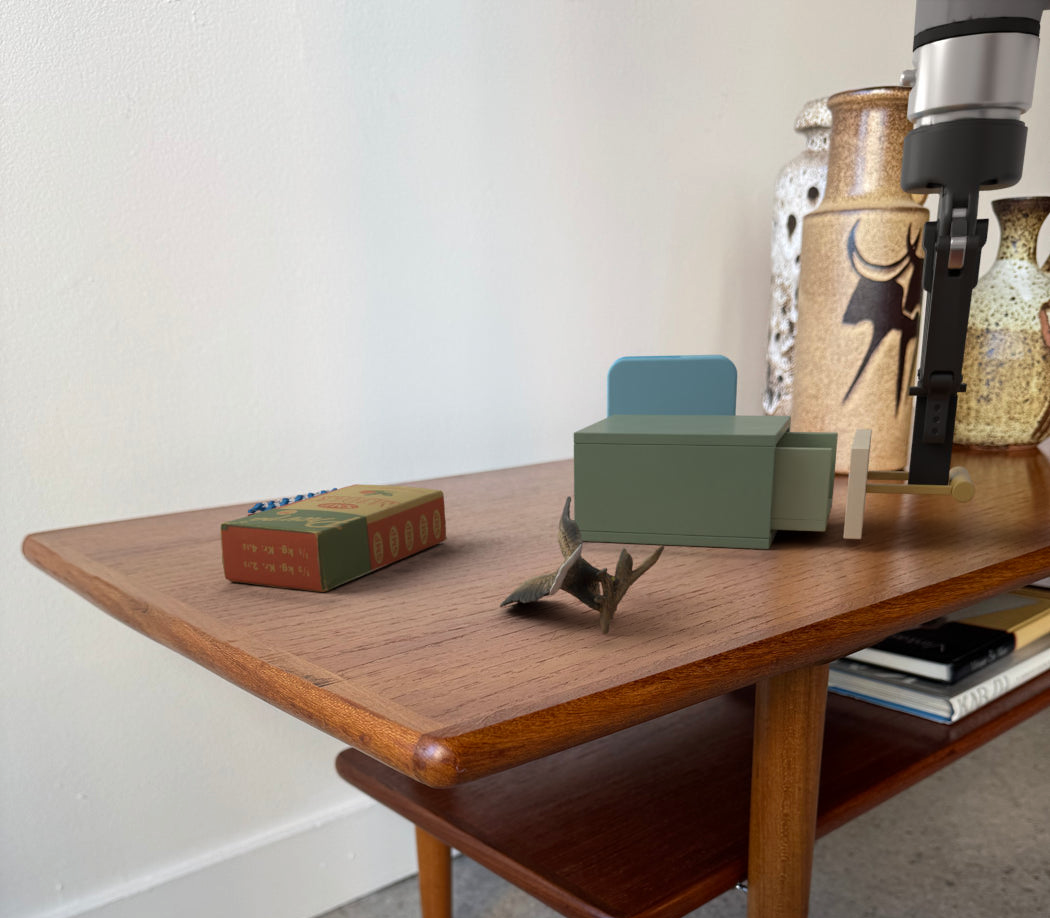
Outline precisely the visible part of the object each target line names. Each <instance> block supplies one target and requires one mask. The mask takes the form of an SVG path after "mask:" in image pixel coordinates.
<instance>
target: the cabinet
mask: <svg viewBox="0 0 1050 918" xmlns="http://www.w3.org/2000/svg"><path fill="white" fill-rule="evenodd" d="M791 422H792V415H738V414H737V415H612V416H610V417H608V418H607V417H606V418H604V419H602V420H599V421H597V422H594V423H592V424H590V425H588V426H585V427H583V428H581V429H578V430H576V431H575V432H573V520H575V521H576V523H577V526H578V528H579V531H580V534H581V539H583V542H589V543H590V542H593V543H613V544H614V543H615V544H637V545H659V546H660V545H663V546H679V547H681V546H682V547H702V548H704V547H705V548H706V547H707V548H724V549H725V548H726V549H727V548H729V549H746V550H747V549H751V550H769V549H770V547H771V546H772V543H773V541H774V539H775V537H776V535H777V533H778V532H779V530H771V523H772V506H773V489H774V473H775V456H776V446H775V445H776V444H777V443H778V441H779V440H780V439H781V437H782V436H783V435H784V433H785V432H791V424H792V423H791Z"/></svg>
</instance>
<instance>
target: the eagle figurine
mask: <svg viewBox="0 0 1050 918" xmlns="http://www.w3.org/2000/svg"><path fill="white" fill-rule="evenodd" d="M571 502H572V497H571V496H567V497H566V499H565V504H564V507H563V509H562V513H561V516H560V520H559V523H558V531H557V543H558V547H559V549H560V553H561V554H562V556H563V558H564V561H563V562H562V563H561V564H560V566H559V567H558V568H557V569H556V570H555V571H553V572H549V573H545V574H540V575H536V576H533V577H530V578H528V579H526V580H524V582H522V583H521V584H520V585H518V586H517V587H516V588H515V589H514V590H513V591H512V592H511V593H510V594H509V595H508V596H507V597H506V598H505V599H504V600H503V601H502V602H501V603H500V604H499V607H500V608H503V607H506V606H507V605H511V604H513V603H523V604H526V603H527V604H528V603H531V602H538V601H539V600H542V599H543V598H544V597H549V596H554V595H555V594H557V593H558V591H560V590H561V591H563V592H565V593H568V594H570V595H571V596H572V597H574V598H576V599H577V600H579V602H580V603H582V604H584V605H586V606H587V607H588V608H589V609H592V610H593V611H596V612H598V613H600V615H599V623H600V627H601V630H602V634H603V635H604V636H605V635H608V633H609V631H610V625H611V621H612V620H613V619H614V615H615V613H616V612H617V610H618V605H619V604H620V602H621V601H622V600H623V599H624V597H625V596H626V594H627V592H628V590H629V589H630V587H631V586H633V584H634V583H635V582H636V581H637V580H639V578H640V577H642V576H643V575H644V574H646V572H648V571H649V570H650V569H651V568H652V567H654V565H655V564H657V562H658V561H659V559H660V557H661V555H662V553H663V552H664V550H665V545H659V546H657V548H656V549H655V550H654V552H653V553H652V554H651V555H649V556H647V557H646V558H645V559H644V560H643V561H642V562H641V563H640V564H639V566H637V567H636V568H635V569H633V567H634V559H633V556H632V555H631V554H630V553H629V552H628V551H627V549H626V548H625V547H622V548H621V551H620V554H619V557H618V561H617V562H616V564H615V565H616V566H615V571H614V575H612V574H609V573H608V567H604V568H602V569H599V568H597V567H595V566H593V565H592V564H591V563H590V562H588V560H586V559H585V558H584V557H582V551H583V544H584V541H583V539H581V534H580V531H579V528H578V526H577V523H576V521H575V520H574V519H572V518H571V517H570V516H571V515H570V513H571V510H570V508H571ZM601 589H602V594H601Z"/></svg>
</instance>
